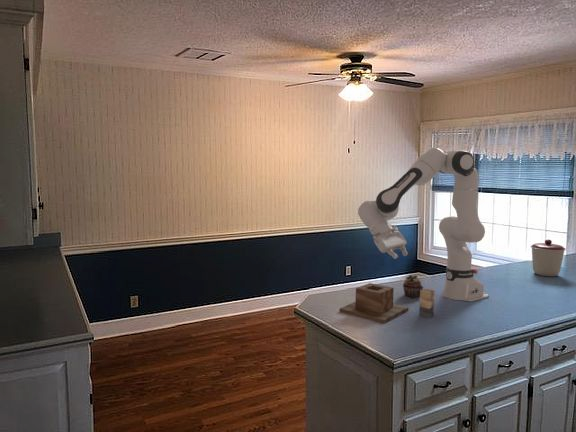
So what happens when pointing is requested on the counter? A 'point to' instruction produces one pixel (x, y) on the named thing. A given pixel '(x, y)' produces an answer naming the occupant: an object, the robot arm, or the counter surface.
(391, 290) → the post block
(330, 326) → the counter surface
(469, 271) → the robot arm
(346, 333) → the counter surface
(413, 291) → the cupcake
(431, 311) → the rail end
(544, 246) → the canister
